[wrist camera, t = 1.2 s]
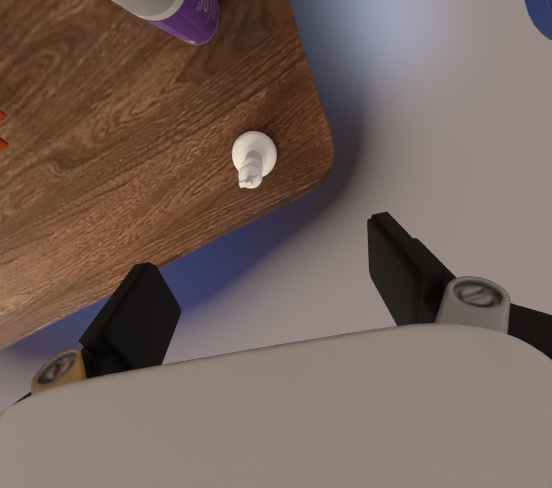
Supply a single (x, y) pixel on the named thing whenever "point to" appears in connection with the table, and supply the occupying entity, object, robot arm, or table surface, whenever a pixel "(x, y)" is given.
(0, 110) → the lantern
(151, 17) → the container
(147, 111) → the table surface
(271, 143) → the chess piece
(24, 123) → the table surface
